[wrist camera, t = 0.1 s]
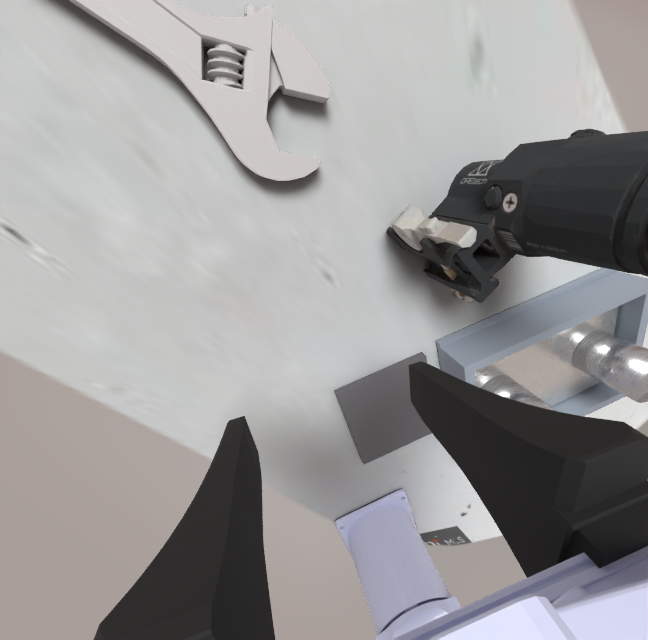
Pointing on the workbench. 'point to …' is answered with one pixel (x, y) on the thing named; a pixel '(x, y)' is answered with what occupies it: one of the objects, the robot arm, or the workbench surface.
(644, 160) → the scope
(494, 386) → the cylinder
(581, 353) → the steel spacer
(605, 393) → the tray
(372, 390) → the rubber mat
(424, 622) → the robot arm
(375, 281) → the workbench surface
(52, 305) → the workbench surface
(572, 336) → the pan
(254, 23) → the adjustable wrench
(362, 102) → the workbench surface
